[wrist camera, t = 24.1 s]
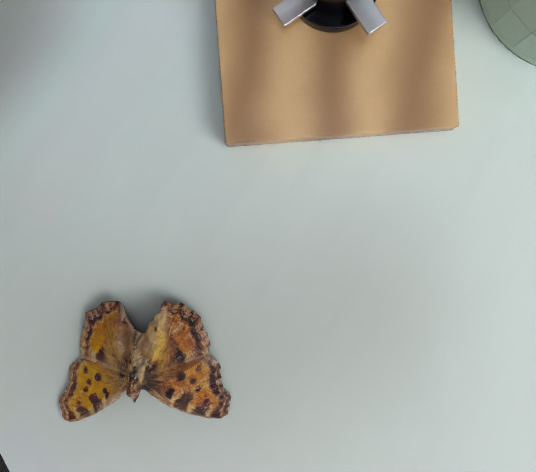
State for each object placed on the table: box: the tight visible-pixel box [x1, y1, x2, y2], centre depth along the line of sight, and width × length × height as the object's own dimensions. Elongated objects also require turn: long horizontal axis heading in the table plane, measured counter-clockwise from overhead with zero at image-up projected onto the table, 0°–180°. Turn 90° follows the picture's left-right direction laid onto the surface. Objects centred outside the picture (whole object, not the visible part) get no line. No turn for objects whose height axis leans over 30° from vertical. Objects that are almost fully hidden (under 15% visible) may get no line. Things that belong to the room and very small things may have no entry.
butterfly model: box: [59, 301, 231, 422], centre depth 35 cm, size 9×12×3 cm
